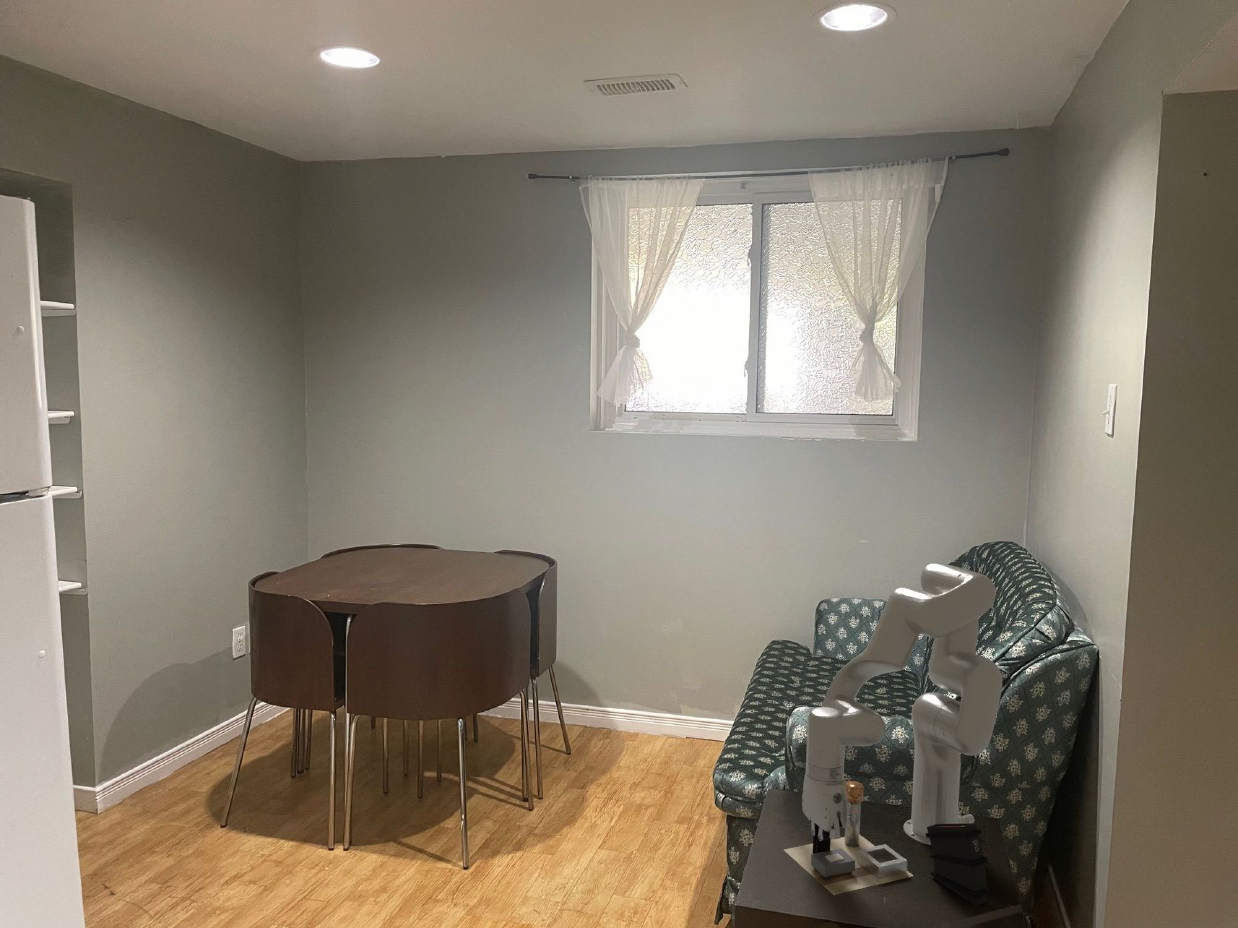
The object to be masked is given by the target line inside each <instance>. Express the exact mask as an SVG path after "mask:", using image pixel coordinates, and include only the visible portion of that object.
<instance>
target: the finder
mask: <svg viewBox="0 0 1238 928" xmlns="http://www.w3.org/2000/svg"><path fill="white" fill-rule="evenodd" d="M811 865H812V866H813V868H814V869H815V870H817V871H818V872H820V873H821V874H822V875H823V877H824V879H827V878H828V876H833V875H838V874H843V873H847V872H848V873H849V874H851V873H852V871H855V860H854V859H853V858H852V857H851V856H849V855H848V854H847V853H846V852H845V851H844V850H842V849H841V848H840V849H835V850H830V851H825V852H820V853H815V854H811Z"/></svg>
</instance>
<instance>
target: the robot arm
mask: <svg viewBox="0 0 1238 928" xmlns="http://www.w3.org/2000/svg"><path fill="white" fill-rule="evenodd" d="M920 584H921V589H922V590H921V589H918V588H914V587H908V586H907V587H905V586H903V587H898V588H896V589H894V590H893V591H892V592H891V594H890V595H889V596H888V599H887V601H886V604H885V606H884V608H883V610H882V612H881V613H880V617H879V619H878V621H877V624H876V626H875V627H874V631H873V632H872V635H871V637H870V639H869V641H868V644H867V646H866V647H865V649H864V650H863V651H862V652H861V653H859V654H858V655H856V656H855V657H853V658H852V659H850V661H849V662H847V663H846V664H845V665H844V666H842V667H841V668H840V670H838V672H837V673H836V674H835V676H834V677H833V679H832V681H831V683H830V685H829V687H828V690H827V692H826V694H825V695H824V696H825V697H824V699H823V702H822V706H819V707H814V708H813V709H811V710H810V711H809V712H808V715H807V725H806V726H807V727H806V728H807V729H806V732H807V735H806V754H805V755H806V757H805V759H806V761H805V773H804V774H805V775H804V778H803V786H802V798H801V807H802V812H803V814H804V815H805V817H806V818H807V819H808V821H809V823H810V826H811V828H810V829H811V835H812V836H813V837H812V844H813V854H815V853H820V852H825V851H830V845H831V840H832V839H839V838H841V831H840V830H841V829H843V830H845V829H846V827H847V795H846V787H845V783H846V782H845V781H844V773H845V772H844V771H845V768H844V767H845V754H846V753H845V750H846V747H867V746H873V745H876V744H878V743H879V742H880V741H881V740H882V739H883V737H884V735H885V733H886V723H885V720H884V718H883V717H882V716H881V715H880V714H879V713H878V712H876V710H874V709H872V708H870V707H868V706H866V705H864V704H862V703H861V702H858V701H857V700H856V698H857V695H858V694H859V691H860V690H861V688H863V686H864V685H865V684H866V682H868V681H869V680H871V679H873V678H874V677H877V676H880V675H884V674H889V673H894V672H900V671H902V670H904V669H905V668H906V666H907V663H908V661H909V659H910V657H911V655H912V652H913V650H914V648H915V646H916V643H917V641H918V639H919V637H920V635H923V636H926V637H928V638H932V639H934V640H933V644H932V649H931V654H930V659H929V664H928V677H929V680H930V681H931V682H932V683H933V684H934V685H935V686H936V687H938V688H941V689H942V690H944V691H947V692H949V693H951V694H954V695H956V696H957V697H960V698H961V699H960V701H959V700H956V699H954V698H952V697H950V696H948V695H944V694H942V693H939V692H932V691H931V692H926V693H923V694H921V695H920V696H919V697H917V698H916V700H915V701H914V703H913V705H912V709H911V725H912V732H913V738H914V739H913V740H914V741H913V742H914V755H913V756H914V759H913V761H914V762H913V776H912V799H911V801H912V802H911V818H910V819H908V820H906V821H905V822H904V824H903V832H904V833H905V834H906V835H907V836H909V837H910V838H912V840H915V841H917V842H919V843H921V844H924V845H929V846H931V842H930V838H926V835H925V834H926V833H928V830H927V827H928V826H932V825H935V824H961V823H975V817H974V815H972V814H971V813H969V814H964V815H962V814H961V812H960V811H959V798H960V782H961V781H960V778H961V767H962V766H961V763H962V761H961V755H960V754H963V755H966V756H978V755H980V754H981V753H984V751H985V749H987V747H988V746H989V744H990V742H991V740H992V736H993V731H994V729H995V728H994V727H995V724H996V719H997V714H998V710H999V704H1000V701H1001V696H1002V689H1003V677H1002V673H1001V670H1000V668H999V667H998V665H997V664H996V663H995V662H994V661H992V660H990V659H989V658H987V657H985V656H983V655H982V656H981V655H979V654H977V652H976V651H977V650H976V649H977V643H978V636H979V631H980V630H979V629H980V628H979V627H980V626H979V625H980V624H979V618H981V616H983V615H984V614H985V613H987V612H988V611H989V610H990V609H991V608H992V606H993V605H994V603H995V600H996V596H997V589H996V586H995V583H994V582H993V580H991V578H989V577H988V576H986V575H984V574H982V573H980V572H975V571H973V570H969V569H966V568H962V567H959V566H955V565H951V564H948V563H947V564H946V563H942V562H932V563H929V564H927V565H926V566H925V567H924V568H923V569H922V571H921V575H920Z"/></svg>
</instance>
